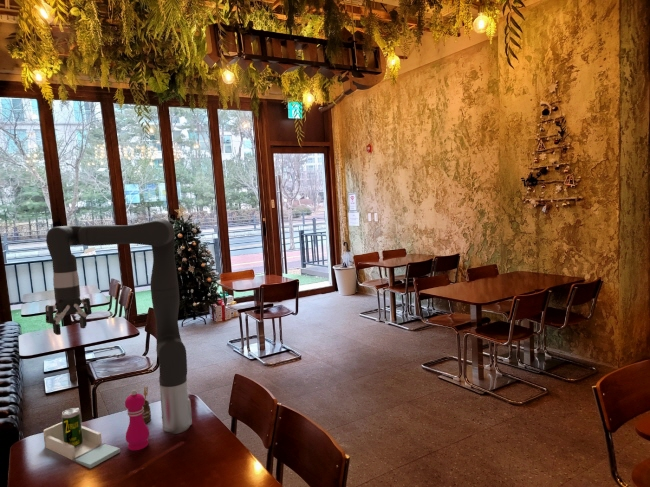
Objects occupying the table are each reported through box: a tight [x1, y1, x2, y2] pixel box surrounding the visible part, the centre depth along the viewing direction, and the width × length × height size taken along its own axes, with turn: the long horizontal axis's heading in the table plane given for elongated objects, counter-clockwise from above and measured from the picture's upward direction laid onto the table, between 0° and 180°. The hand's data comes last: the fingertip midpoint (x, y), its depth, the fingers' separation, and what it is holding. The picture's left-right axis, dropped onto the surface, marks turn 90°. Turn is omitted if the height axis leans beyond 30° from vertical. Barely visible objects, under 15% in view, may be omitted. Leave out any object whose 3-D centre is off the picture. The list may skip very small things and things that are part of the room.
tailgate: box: [71, 442, 121, 469], centre depth 141 cm, size 10×2×9 cm
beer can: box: [61, 407, 83, 449], centre depth 147 cm, size 5×5×12 cm
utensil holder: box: [143, 386, 152, 424], centre depth 165 cm, size 6×6×12 cm
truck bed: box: [43, 421, 103, 461], centre depth 147 cm, size 10×16×7 cm, turn 59°
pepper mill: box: [124, 389, 150, 451], centre depth 146 cm, size 7×7×20 cm
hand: (70, 331), depth 152 cm, fingers open, 8 cm apart
